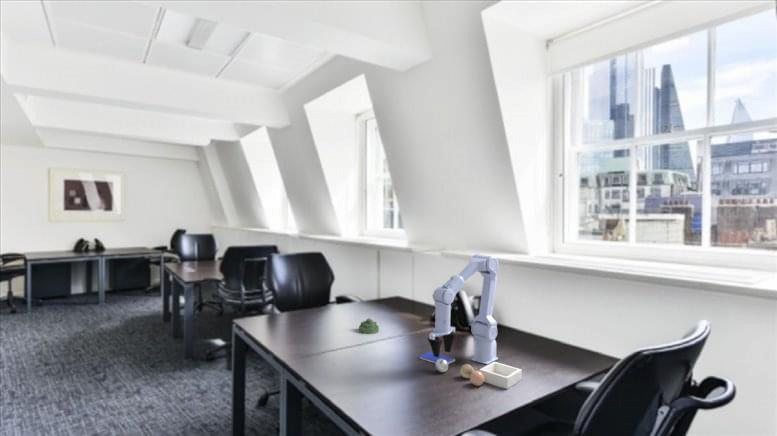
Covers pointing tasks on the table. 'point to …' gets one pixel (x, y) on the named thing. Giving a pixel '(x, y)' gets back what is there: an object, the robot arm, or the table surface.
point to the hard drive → (433, 359)
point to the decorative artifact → (368, 327)
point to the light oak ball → (466, 370)
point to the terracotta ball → (477, 378)
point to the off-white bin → (501, 375)
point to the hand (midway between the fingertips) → (441, 354)
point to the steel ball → (441, 365)
